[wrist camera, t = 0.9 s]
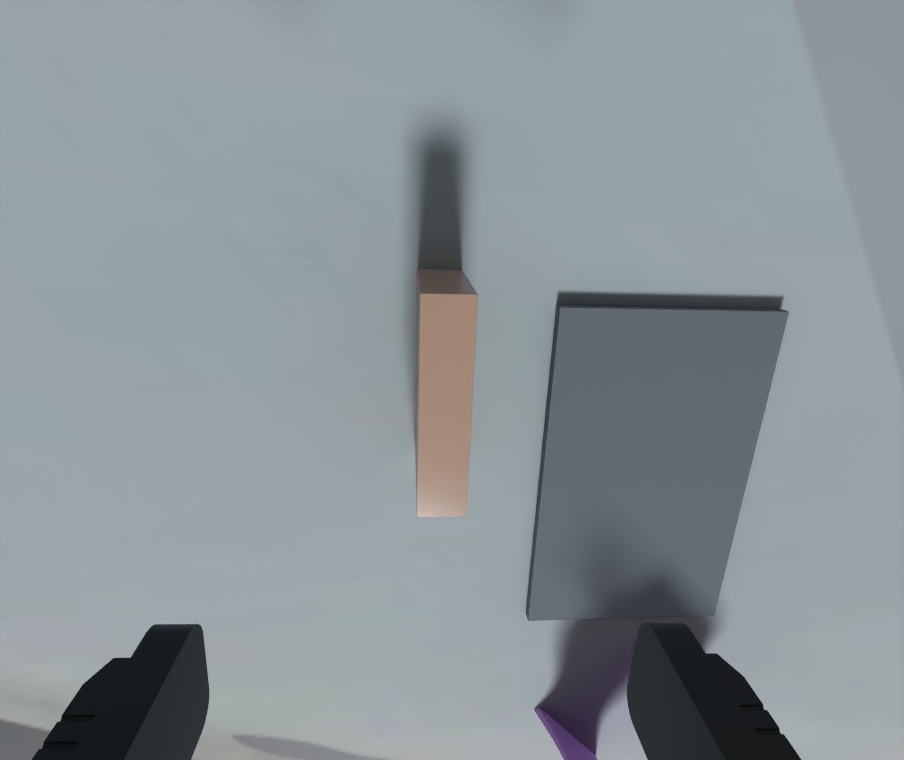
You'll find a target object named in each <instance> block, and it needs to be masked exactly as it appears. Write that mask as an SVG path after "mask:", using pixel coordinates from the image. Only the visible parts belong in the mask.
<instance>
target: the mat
mask: <svg viewBox="0 0 904 760" xmlns="http://www.w3.org/2000/svg"><path fill="white" fill-rule="evenodd" d="M788 314H789V312H788V311H785V310H782V309H752V308H700V307H648V306H596V305H557V309H556V319H555V329H554V339H553V349H552V359H551V369H550V379H549V389H548V399H547V409H546V419H545V429H544V438H543V448H542V458H541V468H540V478H539V488H538V498H537V508H536V518H535V528H534V538H533V548H532V558H531V568H530V578H529V588H528V598H527V608H526V615H527V619H528V621H537V620H572V619H607V618H642V617H677V616H713V615H714V613H715V609H716V605H717V601H718V597H719V593H720V589H721V585H722V581H723V577H724V573H725V569H726V565H727V561H728V557H729V553H730V549H731V545H732V541H733V536H734V532H735V528H736V524H737V520H738V516H739V512H740V508H741V504H742V500H743V496H744V492H745V488H746V484H747V480H748V476H749V472H750V468H751V464H752V459H753V455H754V451H755V447H756V443H757V439H758V435H759V431H760V427H761V423H762V419H763V415H764V411H765V407H766V403H767V399H768V395H769V391H770V387H771V382H772V378H773V374H774V370H775V366H776V362H777V358H778V354H779V350H780V346H781V342H782V338H783V334H784V330H785V326H786V322H787V318H788Z"/></svg>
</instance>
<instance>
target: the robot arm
mask: <svg viewBox="0 0 904 760" xmlns="http://www.w3.org/2000/svg"><path fill="white" fill-rule="evenodd" d="M627 700H628V707H629V712H630V716H631V720H632V723H633V725H634V728H635V730H636V733H637V735H638V737H639V740H640V742H641V745H642V747H643V749H644V752H645V754H646V756H647V759H648V760H801V759H800V757H799V756H798V754H797V753H796V751H795V750H794V748H793V747H792V746H791V744H790V743H789V741H788V740H787V738H786V737H785V736H784V734H781V733H780V731H779V727H778V725H777V724H776V723H775V721H774V720H773V718H772V717H771V715H770V714H769V712H768V711H767V710H764V708H763V704H762V702H761V701H760V700H759V698H758V697H757V695H756V694H755V692H754V691H753V689H752V688H751V687H750V685H749V684H748V682H747V681H746V679H745V678H744V677H743V676H742V675H741V674H740V673H739V672H738V671H736V670H735V669H734V668H733V667H732V666H731V665H729V664H728V663H727V662H726V661H725V660H724V659H722V658H721V657H720V656H719V655H718V654H706V653H705V652H704V650H703V649H702V647H701V646H700V644H699V643H698V641H697V639H696V638H695V636H694V635H693V633H692V632H691V630H690V629H689V628H688V627H687V626H686V625H685V624H682V623H644V624H642V625H641V626H640V628H639V631H638V635H637V640H636V645H635V650H634V655H633V660H632V665H631V670H630V675H629V680H628V686H627ZM208 703H209V684H208V674H207V665H206V656H205V646H204V637H203V630H202V627H201V626H200V625H199V624H156V625H153V626H152V627H151V628H150V629H149V630H148V631H147V633H146V634H145V636H144V637H143V639H142V641H141V642H140V644H139V645H138V647H137V649H136V650H135V652H134V654H133V655H132V657H131V658H113V659H112V660H111V661H110V662H109V663H107V664H106V665H105V666H104V667H103V668H102V669H100V670H99V671H98V672H97V673H96V674H95V675H93V676H92V677H91V678H90V679H89V680H88V681H86V682H85V683H84V684H83V685H82V687H81V688H80V690H79V691H78V693H77V694H76V695H75V697H74V698H73V700H72V701H71V703H70V704H69V706H68V707H67V709H66V710H65V712H64V713H63V715H62V719H61V721H60V722H57V723H56V725H55V726H54V728H53V729H52V731H51V732H50V734H49V735H48V737H47V738H46V739H45V741H44V745H43V748H42V749H39V750H38V751H37V753H36V754H35V756H34V757H33V759H32V760H191V758H192V755H193V753H194V750H195V748H196V745H197V743H198V740H199V738H200V735H201V733H202V730H203V727H204V724H205V720H206V715H207V710H208Z"/></svg>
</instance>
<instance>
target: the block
mask: <svg viewBox="0 0 904 760" xmlns="http://www.w3.org/2000/svg"><path fill="white" fill-rule="evenodd" d="M477 301H478V294H477V293H476V291H475V290H474V288H473V286H472V285H471V283H470V282H469V280H468V278H467V277H466V275H465V274H464V272H463V271H462V270H452V269H418V272H417V350H416V427H415V460H416V499H417V517H447V516H467V498H468V478H469V458H470V439H471V419H472V399H473V379H474V360H475V340H476V320H477Z"/></svg>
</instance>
